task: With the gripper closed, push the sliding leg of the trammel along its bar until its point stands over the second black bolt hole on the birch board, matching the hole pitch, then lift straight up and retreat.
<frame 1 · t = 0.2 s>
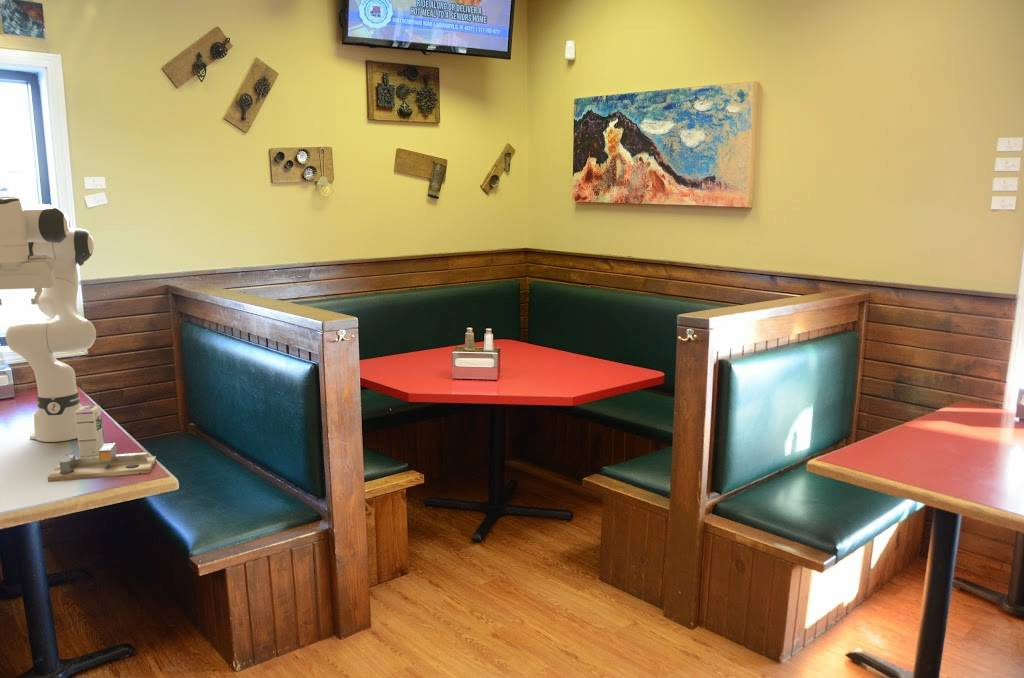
hand: (16, 304, 231), 47 cm above the table, fingers open, 8 cm apart
syrup box: (92, 454, 251), on the table
sliding leg: (108, 456, 234), point 4 cm above the table, slide at -6.5 cm
hole board: (104, 470, 235), on the table
trammel bar: (103, 460, 235), on the hole board, point 3 cm above the table
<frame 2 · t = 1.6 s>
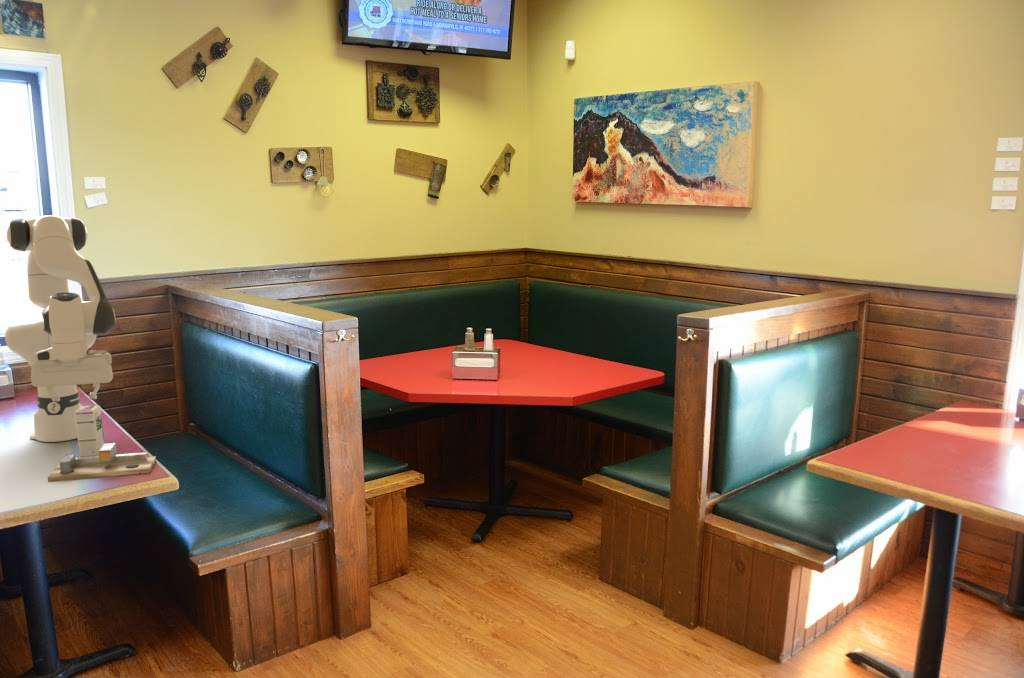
hand: (75, 400, 230), 21 cm above the table, fingers open, 8 cm apart
nothing on the table moved.
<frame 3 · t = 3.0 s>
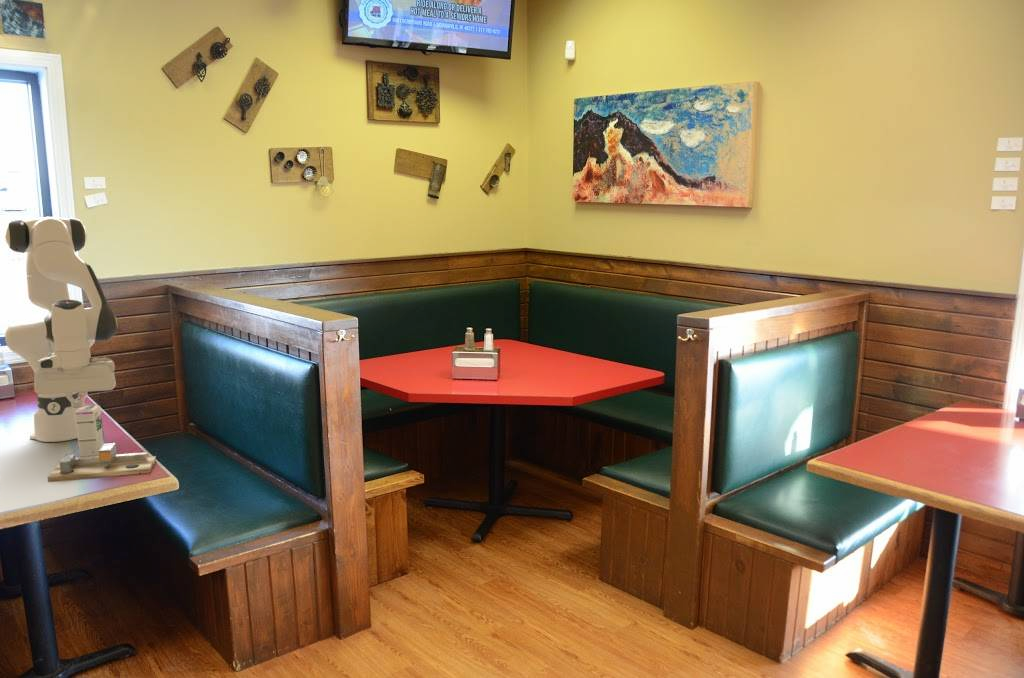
hand: (78, 407, 230), 19 cm above the table, fingers closed
nothing on the table moved.
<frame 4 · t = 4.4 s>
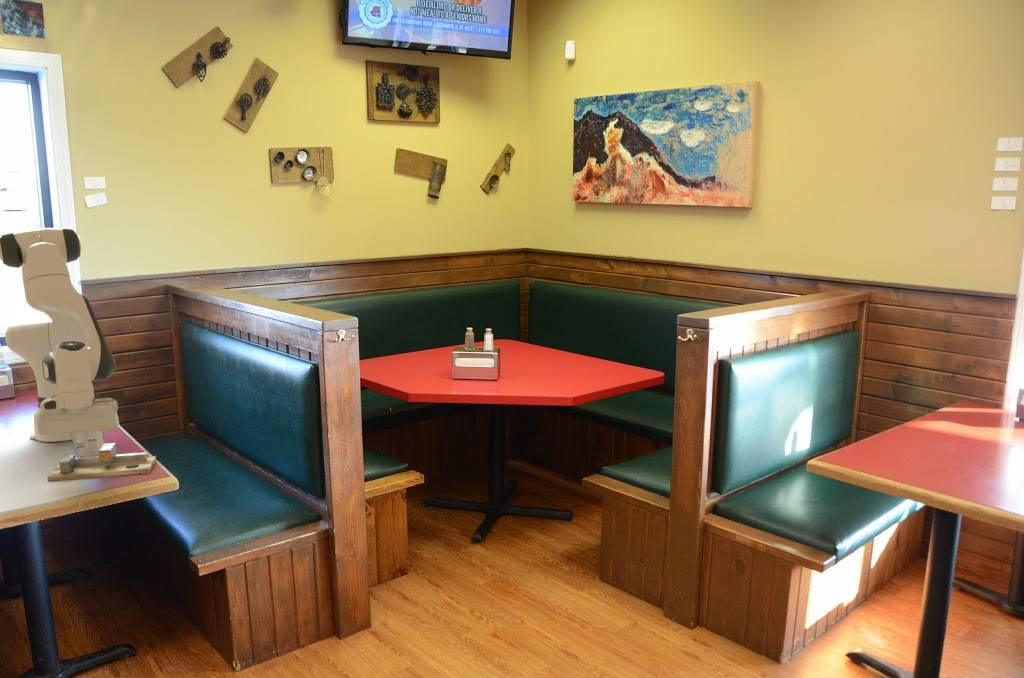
hand: (81, 447, 232), 8 cm above the table, fingers closed
nothing on the table moved.
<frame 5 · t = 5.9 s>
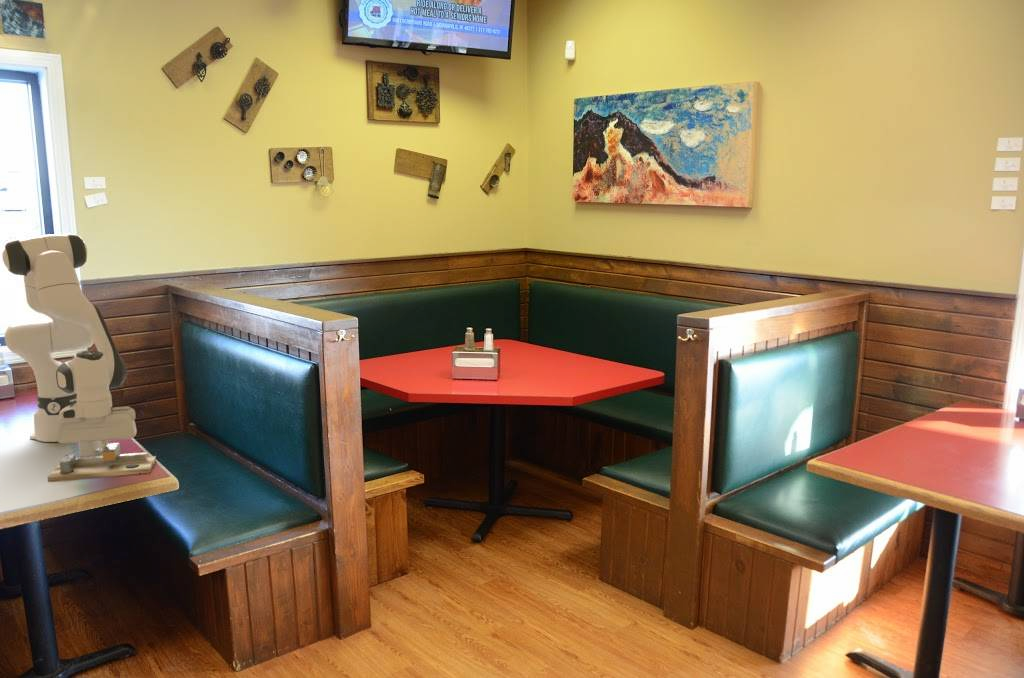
hand: (99, 455, 233), 5 cm above the table, fingers closed
sliding leg: (112, 455, 234), point 4 cm above the table, slide at -5.4 cm, touching gripper
everything else where it was.
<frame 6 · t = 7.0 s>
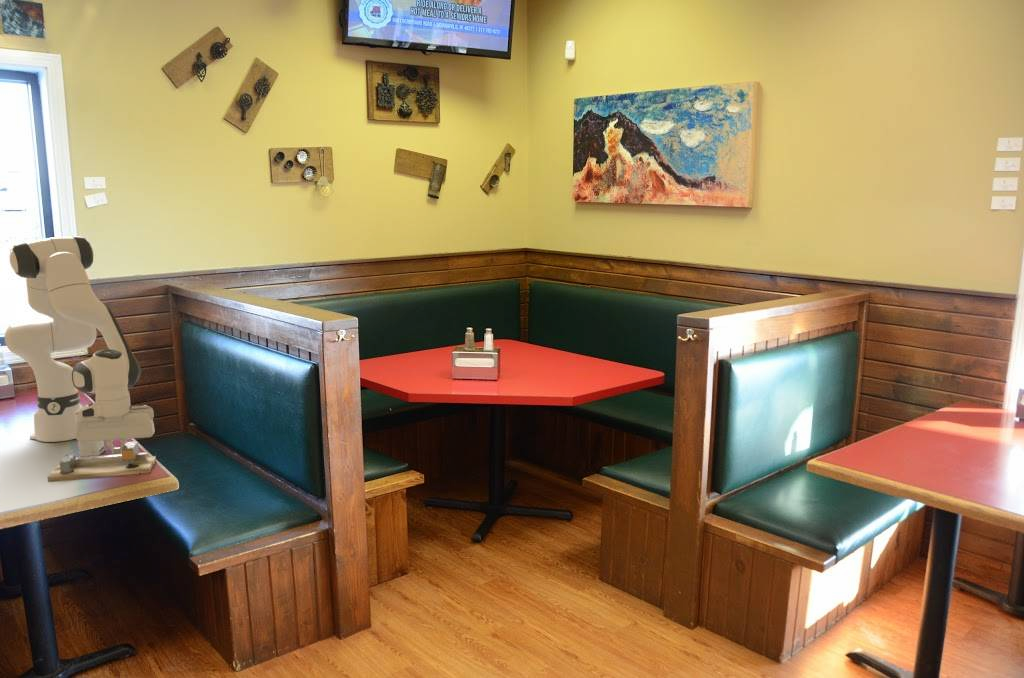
hand: (117, 453, 235), 5 cm above the table, fingers closed
sliding leg: (130, 454, 236), point 4 cm above the table, slide at -0.6 cm, touching gripper
everything else where it was.
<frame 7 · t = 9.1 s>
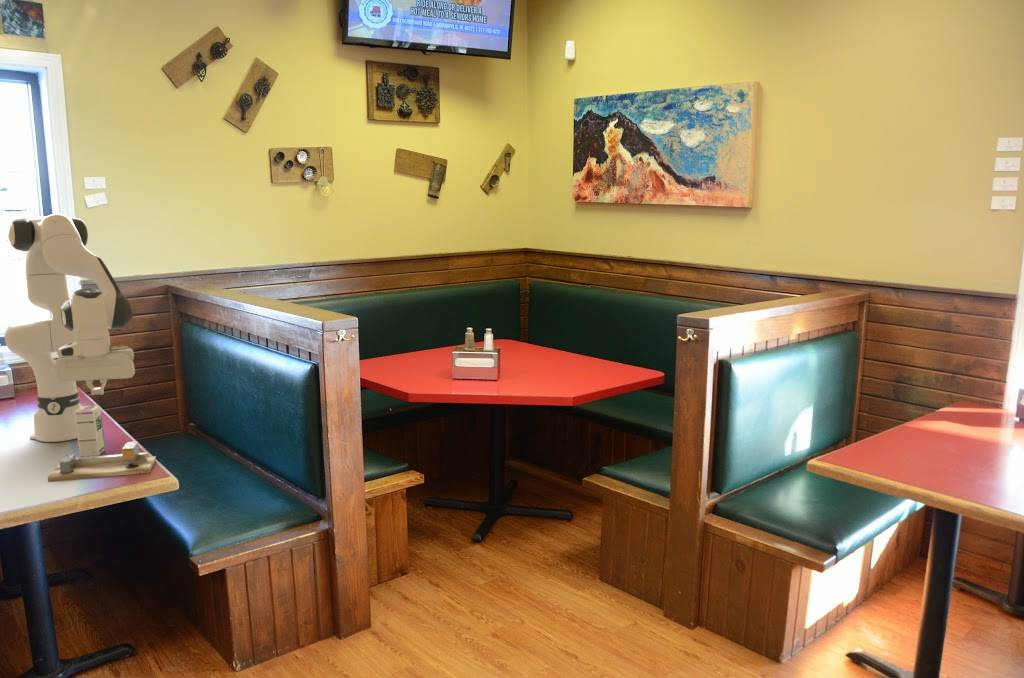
hand: (97, 394, 233), 22 cm above the table, fingers closed
sliding leg: (130, 454, 236), point 4 cm above the table, slide at -0.5 cm
everything else where it was.
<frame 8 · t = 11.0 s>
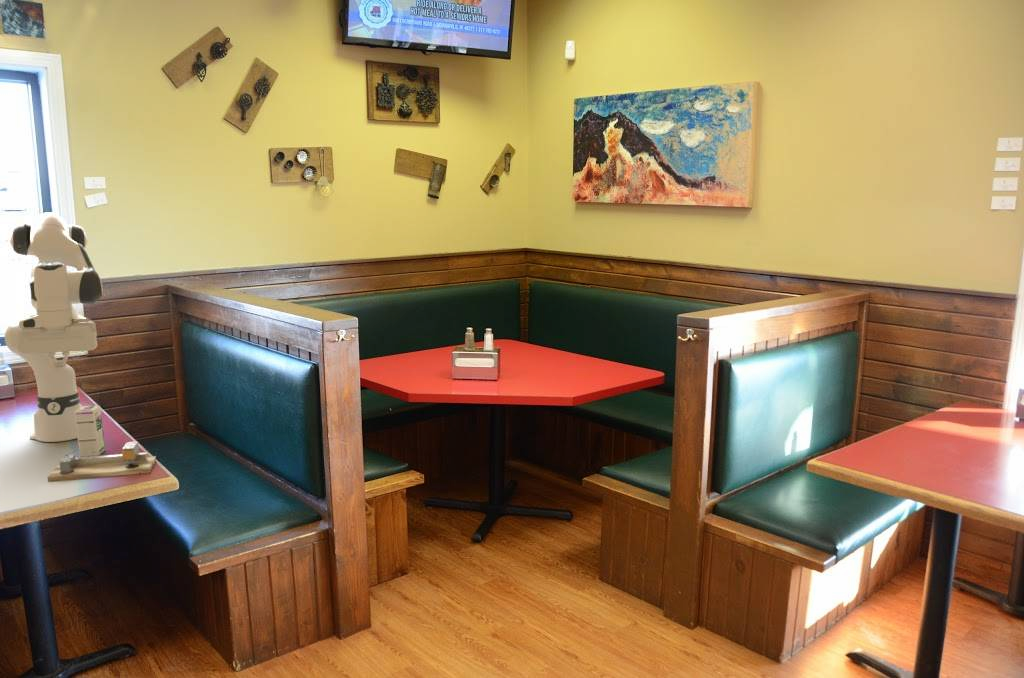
hand: (60, 367, 236), 29 cm above the table, fingers closed
nothing on the table moved.
at the end: sliding leg slide at -0.5 cm; sliding leg touching nothing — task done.
